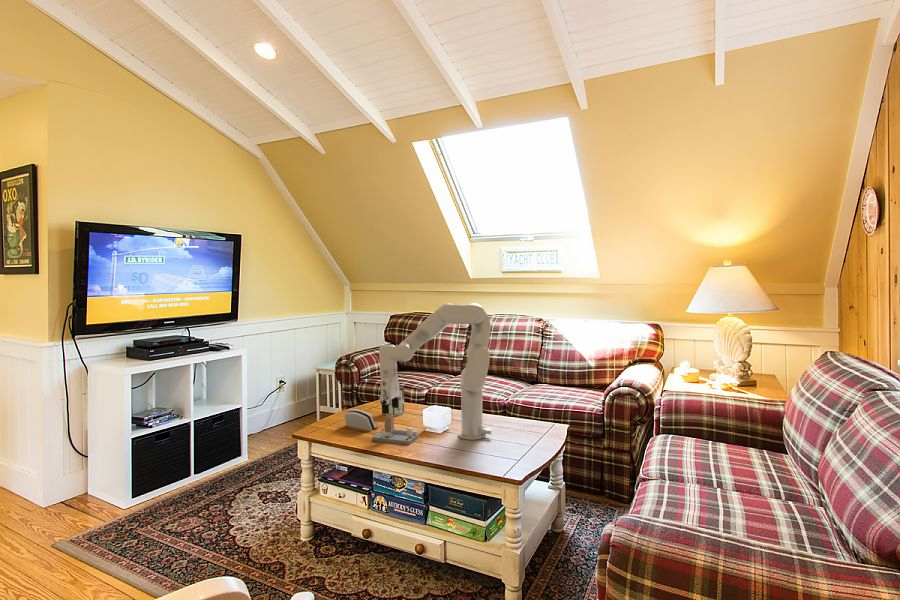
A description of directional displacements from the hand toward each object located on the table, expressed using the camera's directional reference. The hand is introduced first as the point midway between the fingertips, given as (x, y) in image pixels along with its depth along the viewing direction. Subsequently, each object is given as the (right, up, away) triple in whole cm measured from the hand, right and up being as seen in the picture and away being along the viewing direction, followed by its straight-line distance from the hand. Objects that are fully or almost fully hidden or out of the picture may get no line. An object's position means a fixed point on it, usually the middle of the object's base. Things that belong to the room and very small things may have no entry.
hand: (390, 410), depth 222 cm
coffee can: (-3, -11, +42) cm, 43 cm away
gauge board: (+2, -13, 0) cm, 13 cm away
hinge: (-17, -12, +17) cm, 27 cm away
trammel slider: (-1, -11, -1) cm, 11 cm away
